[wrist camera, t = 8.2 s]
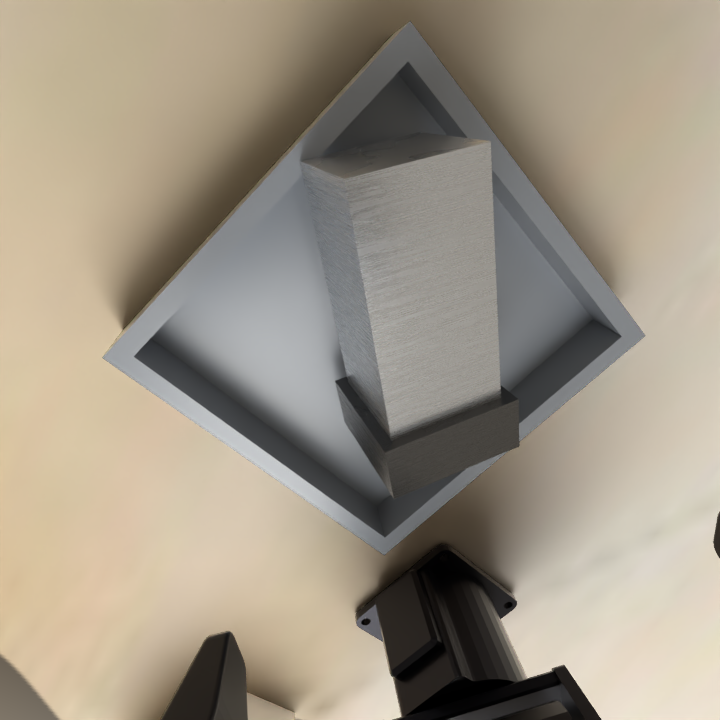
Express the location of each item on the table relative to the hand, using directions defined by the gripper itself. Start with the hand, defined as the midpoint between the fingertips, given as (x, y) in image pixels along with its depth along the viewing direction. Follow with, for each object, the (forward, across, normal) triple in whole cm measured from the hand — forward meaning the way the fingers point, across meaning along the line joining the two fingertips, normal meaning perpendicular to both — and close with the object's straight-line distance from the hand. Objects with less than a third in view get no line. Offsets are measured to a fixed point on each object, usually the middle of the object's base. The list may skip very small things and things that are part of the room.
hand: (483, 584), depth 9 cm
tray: (+13, -1, 0) cm, 13 cm away
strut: (+10, -1, +3) cm, 10 cm away
